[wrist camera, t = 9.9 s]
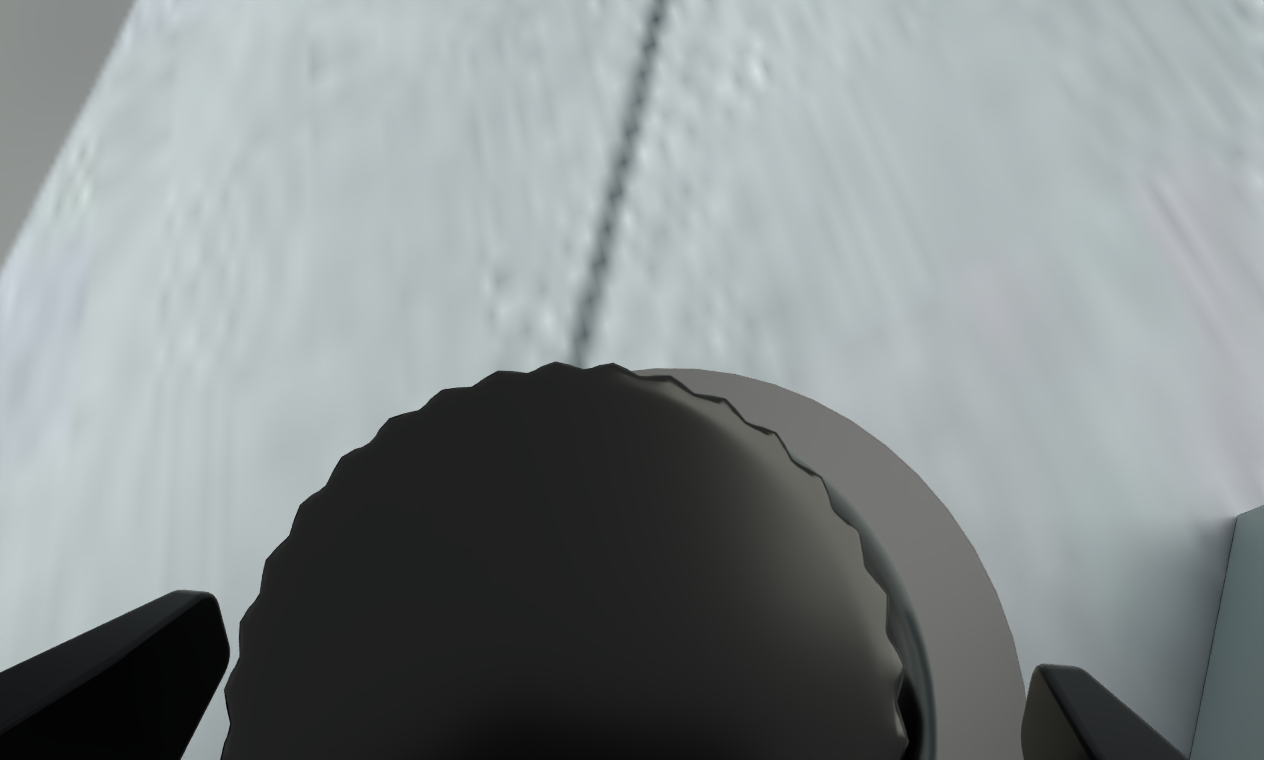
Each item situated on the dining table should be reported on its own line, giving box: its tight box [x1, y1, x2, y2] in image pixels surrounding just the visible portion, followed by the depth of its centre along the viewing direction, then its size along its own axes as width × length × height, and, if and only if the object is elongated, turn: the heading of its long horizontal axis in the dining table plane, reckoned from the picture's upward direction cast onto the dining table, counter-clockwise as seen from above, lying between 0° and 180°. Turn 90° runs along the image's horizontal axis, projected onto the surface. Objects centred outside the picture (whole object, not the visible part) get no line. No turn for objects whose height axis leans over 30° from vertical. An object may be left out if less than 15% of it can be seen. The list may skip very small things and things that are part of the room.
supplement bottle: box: [220, 362, 938, 760], centre depth 11 cm, size 7×7×12 cm
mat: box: [632, 368, 1026, 760], centre depth 17 cm, size 14×14×1 cm
